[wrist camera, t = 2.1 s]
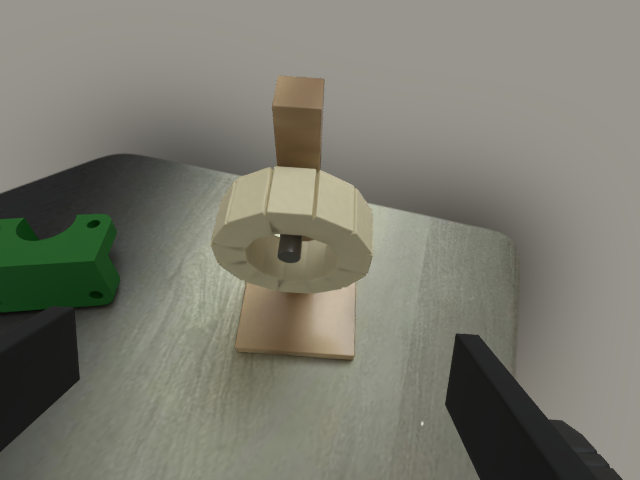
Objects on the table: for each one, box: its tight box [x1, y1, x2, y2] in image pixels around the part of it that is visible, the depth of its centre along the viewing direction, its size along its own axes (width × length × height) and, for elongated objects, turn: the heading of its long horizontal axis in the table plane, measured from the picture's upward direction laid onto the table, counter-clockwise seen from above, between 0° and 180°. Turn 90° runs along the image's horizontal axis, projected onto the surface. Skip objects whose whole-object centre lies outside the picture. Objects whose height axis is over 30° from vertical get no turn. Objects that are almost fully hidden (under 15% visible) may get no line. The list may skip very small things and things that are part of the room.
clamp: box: [0, 214, 120, 312], centre depth 35 cm, size 12×6×9 cm, turn 90°
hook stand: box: [235, 76, 356, 360], centre depth 27 cm, size 10×10×21 cm
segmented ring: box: [211, 166, 373, 294], centre depth 23 cm, size 9×3×9 cm, turn 86°
